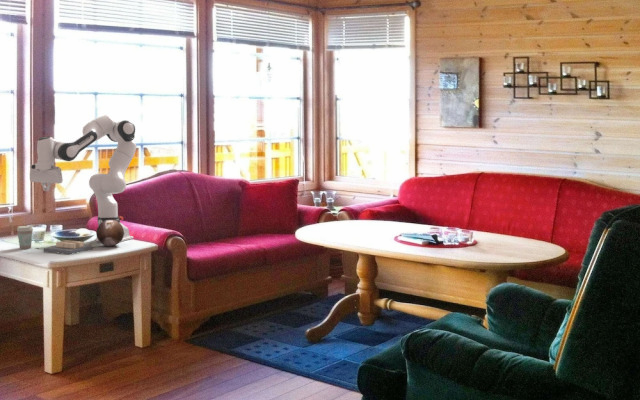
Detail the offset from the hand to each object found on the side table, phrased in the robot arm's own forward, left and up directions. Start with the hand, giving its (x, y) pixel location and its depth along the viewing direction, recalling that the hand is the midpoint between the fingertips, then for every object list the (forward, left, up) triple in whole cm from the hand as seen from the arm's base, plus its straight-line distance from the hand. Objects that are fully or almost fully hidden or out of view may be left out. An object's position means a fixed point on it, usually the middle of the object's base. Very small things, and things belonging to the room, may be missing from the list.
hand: (46, 190), depth 454 cm
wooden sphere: (-20, +28, -31) cm, 47 cm away
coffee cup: (+12, -4, -31) cm, 34 cm away
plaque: (+4, +15, -28) cm, 32 cm away
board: (+3, +20, -31) cm, 37 cm away
